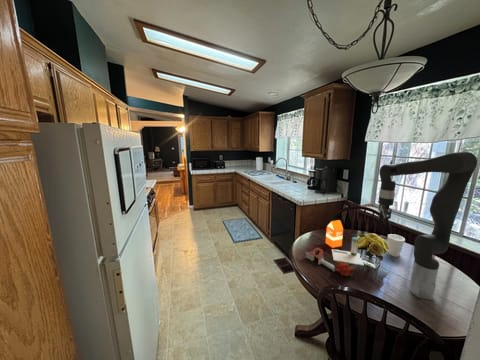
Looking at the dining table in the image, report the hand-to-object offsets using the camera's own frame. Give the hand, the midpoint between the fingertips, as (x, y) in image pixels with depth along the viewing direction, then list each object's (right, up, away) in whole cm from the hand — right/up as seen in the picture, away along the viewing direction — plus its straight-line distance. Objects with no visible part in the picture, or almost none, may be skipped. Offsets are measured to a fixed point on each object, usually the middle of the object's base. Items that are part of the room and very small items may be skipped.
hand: (383, 221), depth 124 cm
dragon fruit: (-26, -32, -3) cm, 42 cm away
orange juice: (-17, -25, +30) cm, 43 cm away
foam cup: (+19, -27, +16) cm, 37 cm away
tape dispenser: (-37, -30, +10) cm, 48 cm away
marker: (-10, -27, +15) cm, 32 cm away
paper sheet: (-16, -28, +13) cm, 35 cm away
